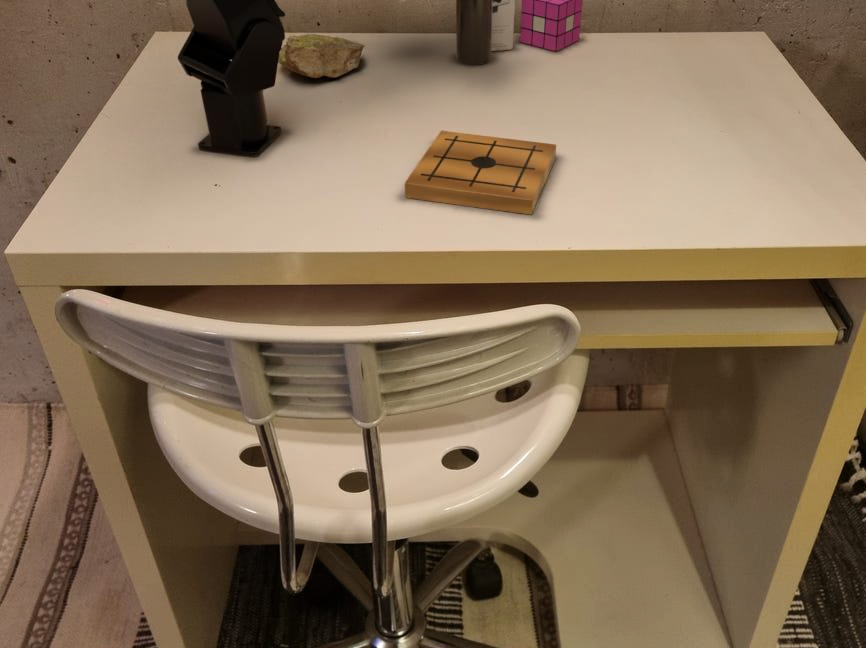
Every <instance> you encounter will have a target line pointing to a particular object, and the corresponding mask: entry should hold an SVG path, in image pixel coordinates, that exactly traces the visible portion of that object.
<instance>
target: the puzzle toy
mask: <svg viewBox="0 0 866 648" xmlns="http://www.w3.org/2000/svg"><path fill="white" fill-rule="evenodd" d="M583 1H584V0H521V10H520V11H521V12H520V36H519V38H520V39H519V43H522V44H525V45H529V46H533V47H536V48H541V49H544V50H548V51H551V52H556V53H557V52H558V51H560V50H563V49H564V48H567V47H568V46H570V45H572V44H575V43H576V42H579V41H580V36H581V24H582V14H583V13H582V12H583V11H582V10H583Z"/></svg>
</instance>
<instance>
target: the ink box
mask: <svg viewBox="0 0 866 648" xmlns="http://www.w3.org/2000/svg"><path fill="white" fill-rule="evenodd" d="M515 11H516V0H502V1H501V2H500V3H497V2H494V1H493V9H492V52H499V51H509V50H513V48H514V37H515V36H514V35H515V34H514V33H515V32H514V31H515V15H516V14H515Z"/></svg>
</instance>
